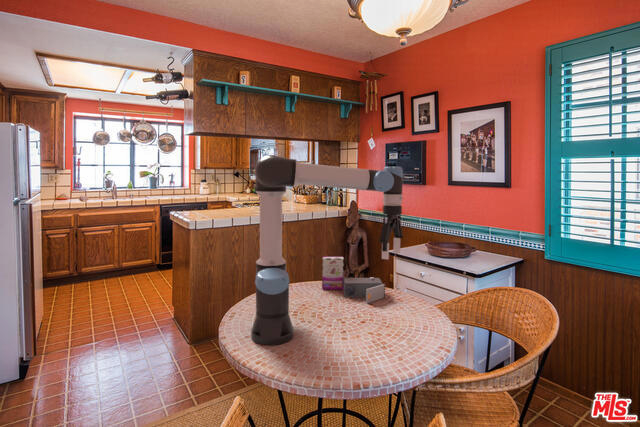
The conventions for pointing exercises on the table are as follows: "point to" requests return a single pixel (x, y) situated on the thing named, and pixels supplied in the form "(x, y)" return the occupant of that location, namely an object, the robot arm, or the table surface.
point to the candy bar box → (332, 273)
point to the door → (375, 293)
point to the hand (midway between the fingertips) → (391, 256)
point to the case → (359, 286)
